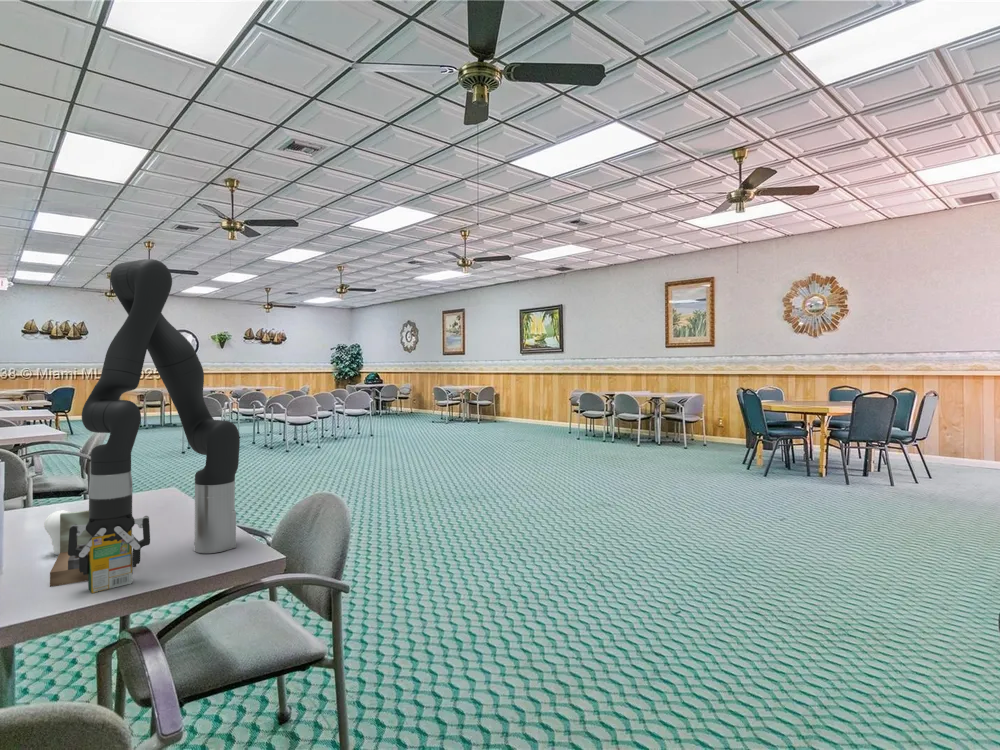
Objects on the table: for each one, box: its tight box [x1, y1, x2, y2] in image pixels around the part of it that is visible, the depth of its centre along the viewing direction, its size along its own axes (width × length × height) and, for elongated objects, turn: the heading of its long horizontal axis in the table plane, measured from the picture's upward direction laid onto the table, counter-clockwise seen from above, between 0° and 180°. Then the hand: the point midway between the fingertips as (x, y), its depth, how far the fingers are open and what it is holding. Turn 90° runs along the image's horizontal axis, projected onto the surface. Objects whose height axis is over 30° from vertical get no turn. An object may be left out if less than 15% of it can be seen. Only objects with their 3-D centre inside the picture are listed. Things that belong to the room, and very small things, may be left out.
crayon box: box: [87, 529, 133, 594], centre depth 116 cm, size 7×3×12 cm, turn 139°
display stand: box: [49, 509, 133, 588], centre depth 126 cm, size 14×16×12 cm
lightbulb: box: [43, 509, 70, 556], centre depth 135 cm, size 6×6×11 cm
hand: (110, 569), depth 116 cm, fingers open, 8 cm apart
